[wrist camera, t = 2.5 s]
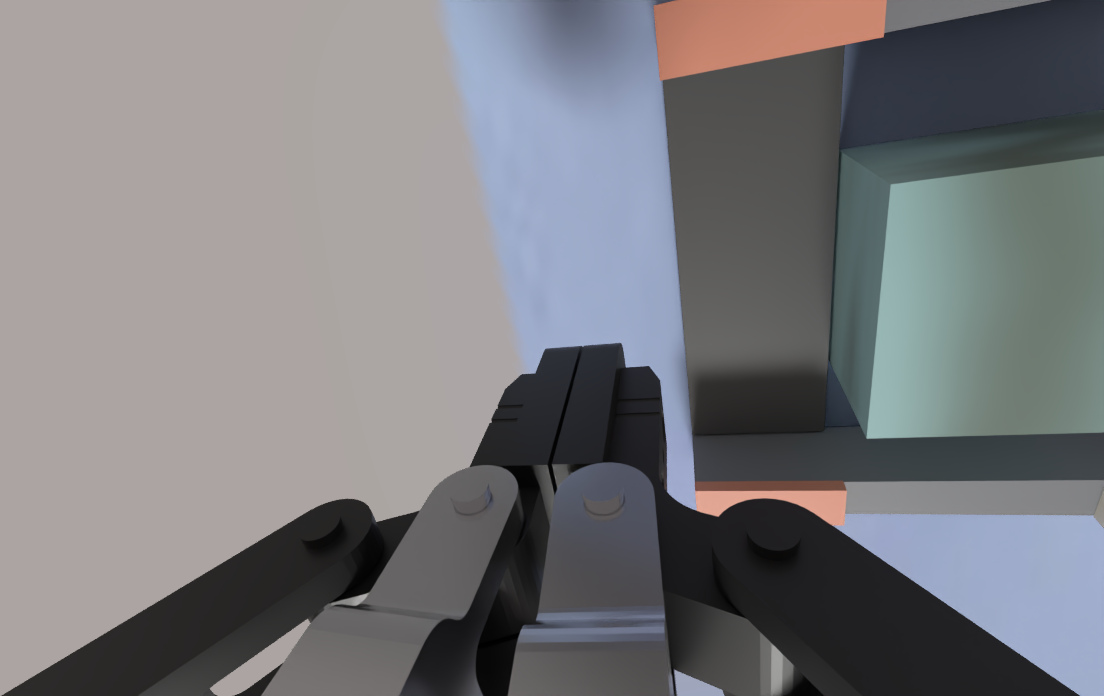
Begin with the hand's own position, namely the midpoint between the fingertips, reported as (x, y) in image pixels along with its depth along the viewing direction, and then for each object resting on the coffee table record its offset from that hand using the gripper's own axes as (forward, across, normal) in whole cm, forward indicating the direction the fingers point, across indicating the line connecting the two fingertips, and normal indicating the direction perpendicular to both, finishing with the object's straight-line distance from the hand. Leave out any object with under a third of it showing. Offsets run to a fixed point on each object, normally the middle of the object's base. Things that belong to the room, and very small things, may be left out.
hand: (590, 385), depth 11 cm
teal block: (+6, -9, 0) cm, 11 cm away
